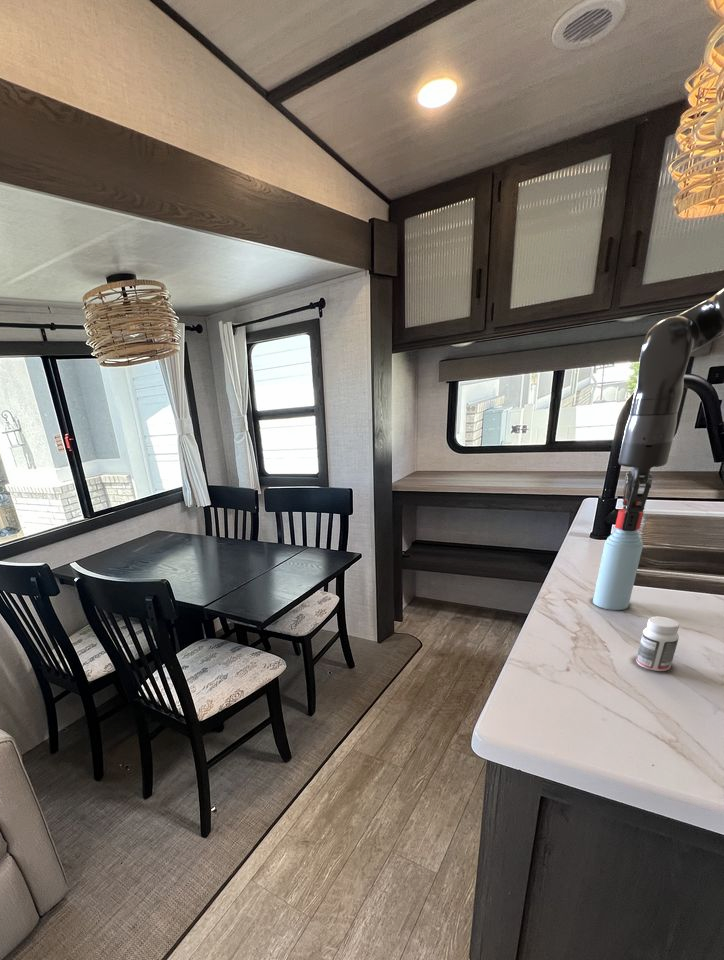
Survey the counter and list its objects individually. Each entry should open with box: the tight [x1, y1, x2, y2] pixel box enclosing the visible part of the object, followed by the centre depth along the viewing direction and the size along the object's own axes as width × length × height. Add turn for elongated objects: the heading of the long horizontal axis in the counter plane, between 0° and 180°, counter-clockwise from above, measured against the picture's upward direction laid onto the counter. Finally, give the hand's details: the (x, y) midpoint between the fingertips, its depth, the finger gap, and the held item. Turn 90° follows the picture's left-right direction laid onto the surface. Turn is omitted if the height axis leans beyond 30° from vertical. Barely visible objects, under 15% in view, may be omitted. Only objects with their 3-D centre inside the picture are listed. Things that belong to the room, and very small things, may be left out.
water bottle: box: [592, 528, 644, 611], centre depth 98 cm, size 6×6×20 cm
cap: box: [615, 508, 645, 531], centre depth 94 cm, size 4×4×4 cm
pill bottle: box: [635, 615, 680, 672], centre depth 79 cm, size 5×5×8 cm
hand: (627, 526), depth 95 cm, fingers closed on cap, 4 cm apart
